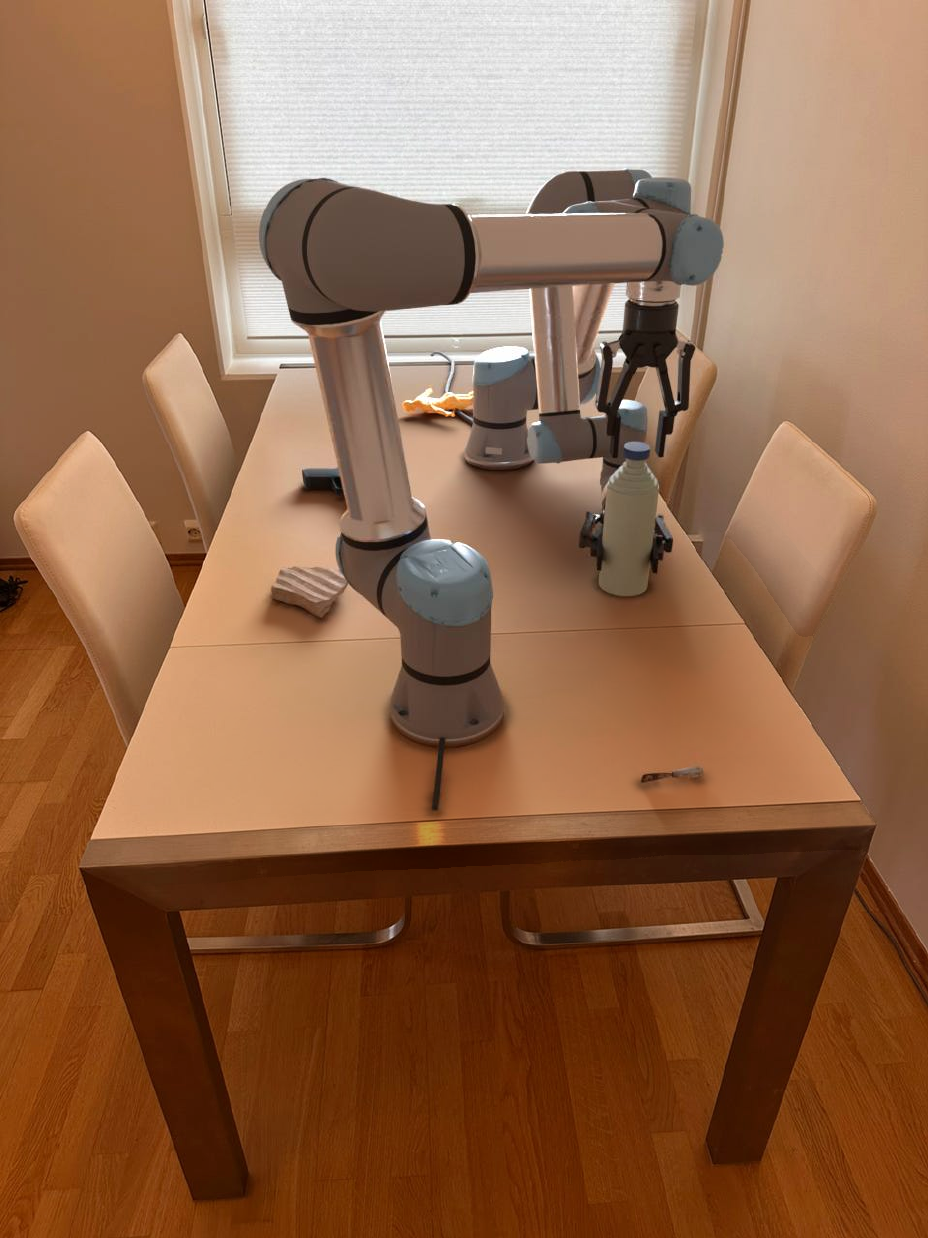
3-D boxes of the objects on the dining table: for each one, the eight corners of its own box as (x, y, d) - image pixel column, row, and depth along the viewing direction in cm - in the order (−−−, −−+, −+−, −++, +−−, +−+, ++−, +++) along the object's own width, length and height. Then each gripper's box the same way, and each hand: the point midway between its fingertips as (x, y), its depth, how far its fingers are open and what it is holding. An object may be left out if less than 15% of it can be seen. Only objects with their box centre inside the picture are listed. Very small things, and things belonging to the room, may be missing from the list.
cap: (619, 458, 137) (620, 449, 137) (626, 449, 141) (627, 440, 140) (645, 462, 136) (646, 452, 135) (652, 453, 139) (653, 443, 138)
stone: (359, 584, 150) (358, 571, 149) (323, 619, 141) (322, 605, 140) (294, 571, 155) (292, 558, 153) (254, 604, 145) (252, 590, 144)
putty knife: (703, 777, 109) (705, 767, 109) (642, 788, 108) (644, 777, 107) (700, 772, 110) (702, 762, 109) (639, 782, 109) (640, 771, 108)
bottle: (608, 568, 155) (621, 436, 142) (653, 579, 152) (670, 445, 139) (591, 589, 149) (602, 453, 136) (637, 601, 146) (653, 463, 133)
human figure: (395, 413, 223) (394, 398, 221) (438, 390, 237) (438, 375, 235) (462, 429, 215) (462, 413, 213) (502, 404, 229) (503, 388, 227)
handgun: (311, 501, 172) (373, 494, 174) (301, 466, 186) (358, 460, 188) (313, 516, 173) (374, 509, 176) (302, 480, 187) (359, 474, 190)
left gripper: (588, 306, 122) (577, 464, 135) (727, 305, 123) (704, 462, 135) (580, 294, 129) (570, 446, 141) (713, 293, 129) (692, 444, 142)
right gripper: (678, 526, 163) (691, 588, 144) (563, 521, 165) (560, 581, 146) (683, 488, 159) (697, 547, 140) (565, 483, 161) (563, 540, 142)
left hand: (636, 454), depth 138 cm, fingers open, 6 cm apart
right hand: (627, 564), depth 143 cm, fingers closed on bottle, 8 cm apart
